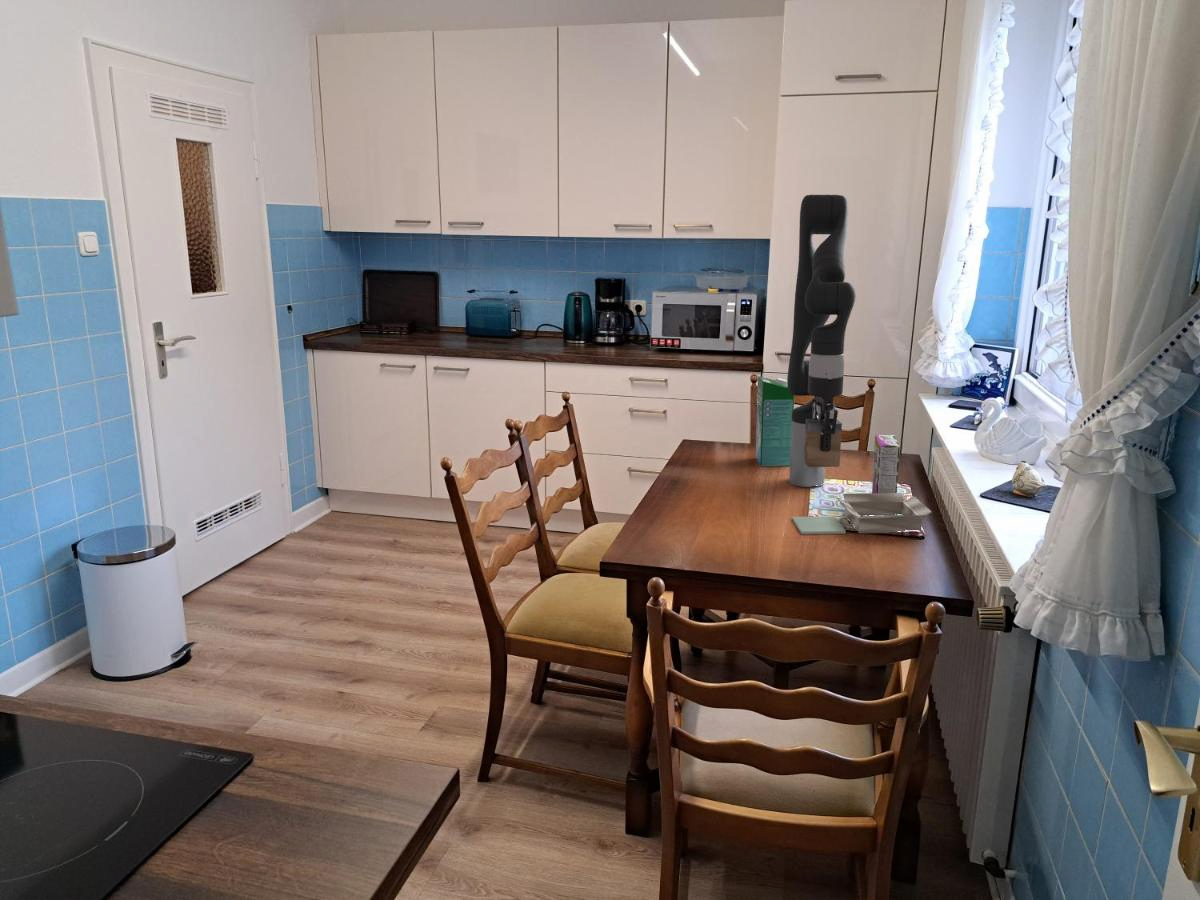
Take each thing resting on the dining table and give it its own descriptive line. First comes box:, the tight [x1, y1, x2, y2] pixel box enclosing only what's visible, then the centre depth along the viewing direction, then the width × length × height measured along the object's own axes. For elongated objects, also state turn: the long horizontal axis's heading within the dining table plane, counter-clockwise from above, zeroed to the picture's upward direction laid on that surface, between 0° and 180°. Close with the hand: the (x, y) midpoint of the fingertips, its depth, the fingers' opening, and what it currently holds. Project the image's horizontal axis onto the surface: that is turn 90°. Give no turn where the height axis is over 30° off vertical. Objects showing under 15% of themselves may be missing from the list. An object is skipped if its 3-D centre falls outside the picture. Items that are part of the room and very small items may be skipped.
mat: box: [791, 515, 847, 535], centre depth 198 cm, size 10×10×1 cm
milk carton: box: [755, 376, 795, 467], centre depth 248 cm, size 9×9×25 cm
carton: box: [836, 492, 932, 534], centre depth 198 cm, size 16×18×5 cm
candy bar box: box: [871, 434, 901, 493], centre depth 211 cm, size 11×5×16 cm, turn 168°
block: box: [804, 419, 843, 468], centre depth 193 cm, size 4×7×10 cm, turn 90°
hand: (822, 447), depth 193 cm, fingers closed on block, 4 cm apart
